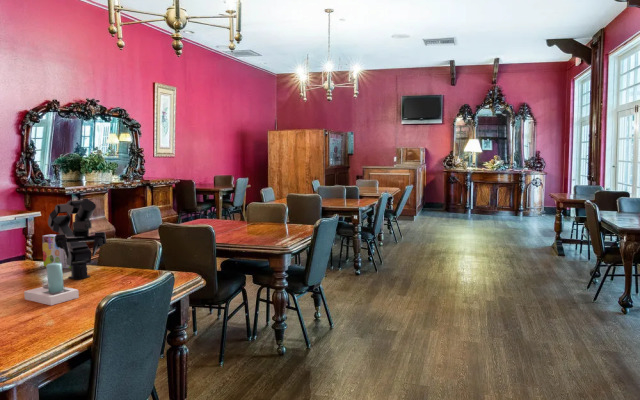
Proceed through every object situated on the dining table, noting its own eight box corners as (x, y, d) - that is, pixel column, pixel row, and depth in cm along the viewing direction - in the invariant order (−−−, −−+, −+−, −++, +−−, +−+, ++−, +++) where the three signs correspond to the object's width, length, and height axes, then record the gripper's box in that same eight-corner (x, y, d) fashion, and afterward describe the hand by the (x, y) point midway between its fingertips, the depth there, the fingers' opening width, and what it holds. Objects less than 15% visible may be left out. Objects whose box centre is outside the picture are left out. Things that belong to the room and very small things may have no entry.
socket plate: (24, 299, 190) (24, 289, 190) (52, 291, 200) (52, 282, 199) (51, 305, 182) (50, 295, 182) (78, 297, 192) (78, 288, 192)
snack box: (86, 267, 242) (85, 235, 241) (77, 269, 237) (76, 237, 235) (52, 264, 249) (50, 233, 248) (42, 266, 244) (40, 235, 242)
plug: (46, 299, 189) (43, 264, 187) (59, 295, 193) (56, 262, 192) (54, 301, 186) (51, 266, 185) (67, 297, 191) (64, 263, 189)
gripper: (53, 214, 204) (51, 247, 195) (104, 212, 210) (104, 243, 201) (58, 230, 213) (55, 262, 203) (106, 228, 219) (106, 259, 210)
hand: (80, 256), depth 204 cm, fingers open, 9 cm apart
